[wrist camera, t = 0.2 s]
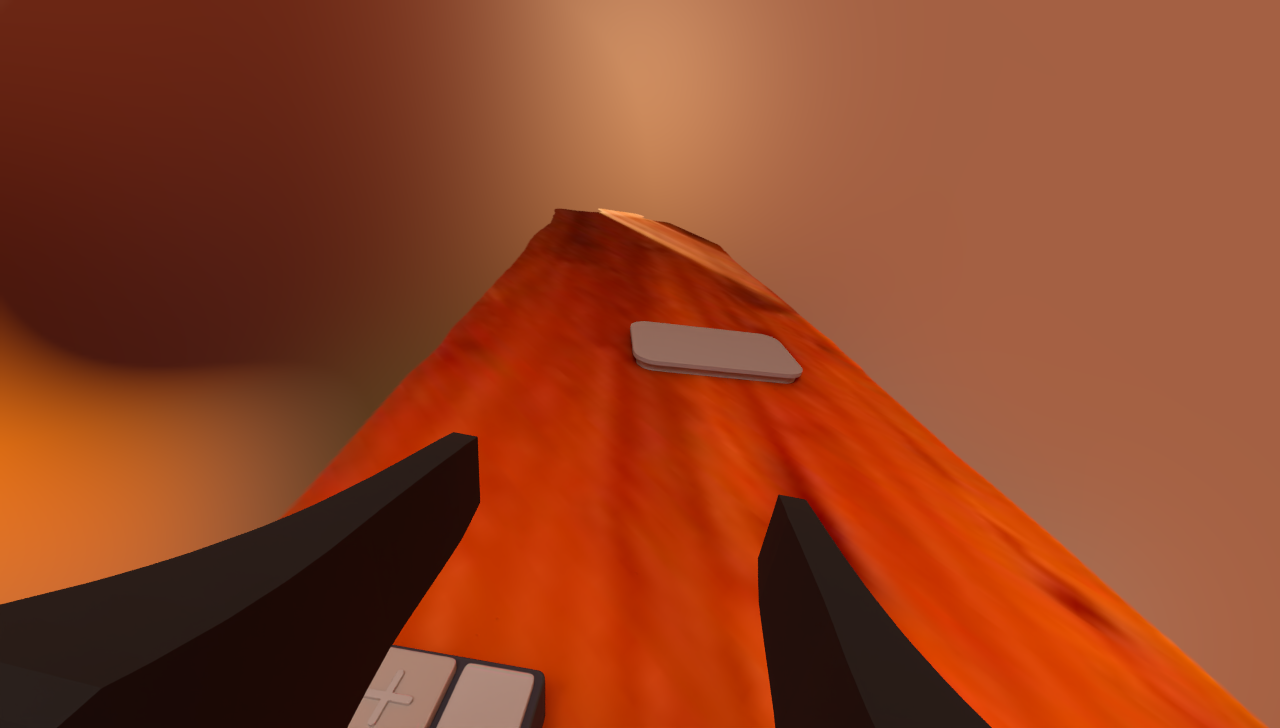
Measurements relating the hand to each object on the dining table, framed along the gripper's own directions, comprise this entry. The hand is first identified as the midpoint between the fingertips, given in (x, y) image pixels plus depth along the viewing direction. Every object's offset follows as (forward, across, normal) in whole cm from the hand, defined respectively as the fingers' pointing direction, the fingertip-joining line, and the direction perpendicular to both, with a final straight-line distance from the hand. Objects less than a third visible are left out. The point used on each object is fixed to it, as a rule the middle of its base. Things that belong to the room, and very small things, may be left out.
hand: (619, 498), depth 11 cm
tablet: (+61, -6, +23) cm, 66 cm away
